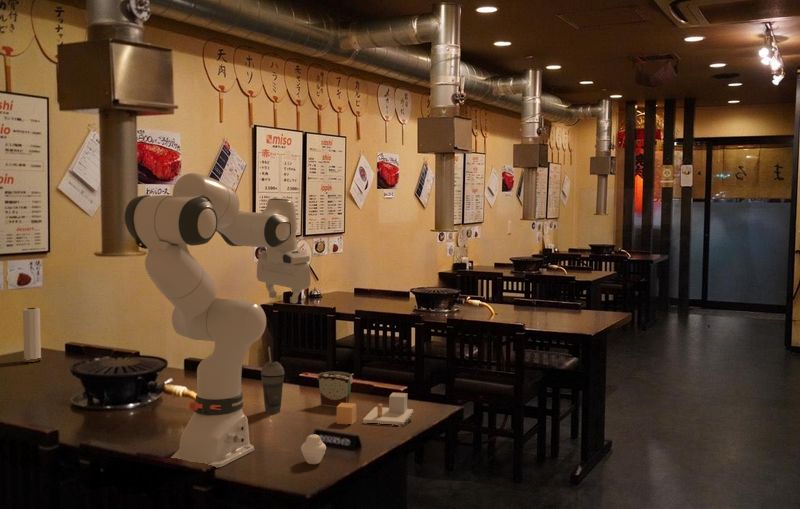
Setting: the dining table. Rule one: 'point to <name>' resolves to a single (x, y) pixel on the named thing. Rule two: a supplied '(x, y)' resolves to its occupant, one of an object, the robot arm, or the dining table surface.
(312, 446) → the muffin
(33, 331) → the paper towel roll
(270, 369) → the beverage cup
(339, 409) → the orange cube
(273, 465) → the dining table surface
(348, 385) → the food container
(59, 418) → the dining table surface
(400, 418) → the plate
